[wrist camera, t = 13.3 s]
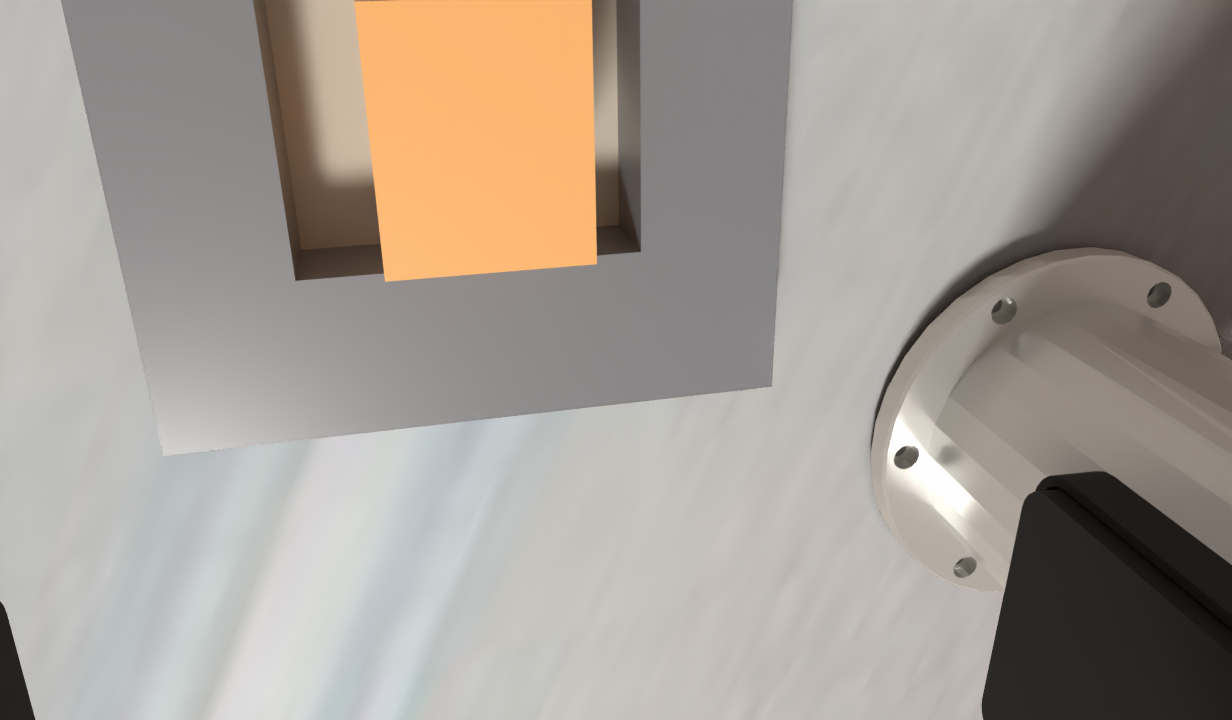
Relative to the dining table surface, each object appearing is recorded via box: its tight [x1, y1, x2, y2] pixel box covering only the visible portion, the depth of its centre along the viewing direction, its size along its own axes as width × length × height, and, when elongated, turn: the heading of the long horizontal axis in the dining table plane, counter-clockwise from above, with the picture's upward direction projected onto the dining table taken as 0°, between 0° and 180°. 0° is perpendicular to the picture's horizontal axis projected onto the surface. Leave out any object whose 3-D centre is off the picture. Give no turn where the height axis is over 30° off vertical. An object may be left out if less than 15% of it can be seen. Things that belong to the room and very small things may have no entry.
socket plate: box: [61, 0, 793, 456], centre depth 25 cm, size 16×16×3 cm
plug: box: [354, 0, 597, 282], centre depth 23 cm, size 4×6×6 cm
